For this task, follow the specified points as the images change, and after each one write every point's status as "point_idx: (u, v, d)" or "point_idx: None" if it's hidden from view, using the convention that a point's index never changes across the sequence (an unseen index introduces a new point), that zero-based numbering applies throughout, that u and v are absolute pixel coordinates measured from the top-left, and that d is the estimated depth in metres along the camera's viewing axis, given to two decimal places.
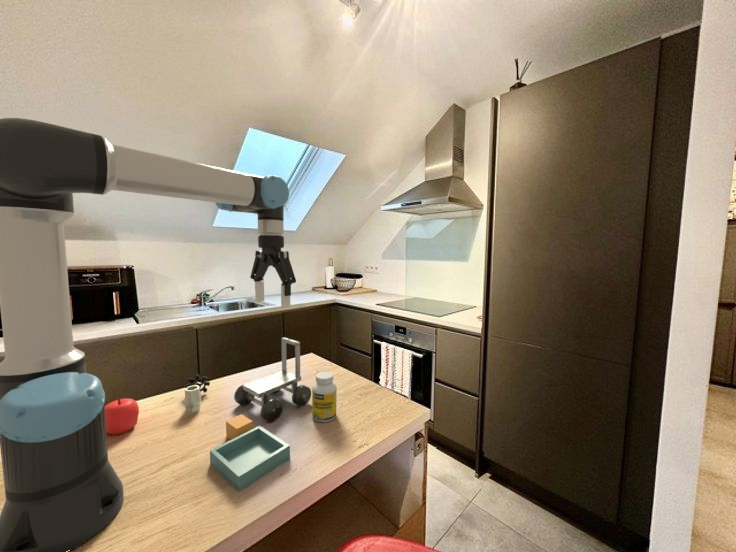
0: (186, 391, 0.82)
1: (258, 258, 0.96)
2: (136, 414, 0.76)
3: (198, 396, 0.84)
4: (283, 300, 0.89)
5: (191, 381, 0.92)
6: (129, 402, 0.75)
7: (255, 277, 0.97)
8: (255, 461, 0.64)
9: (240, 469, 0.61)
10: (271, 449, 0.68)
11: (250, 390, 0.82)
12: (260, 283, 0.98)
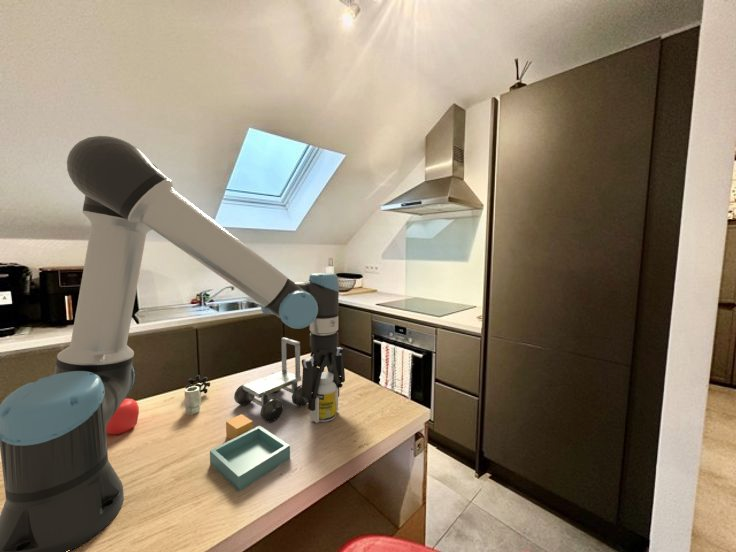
0: (186, 392, 0.82)
1: (335, 356, 0.85)
2: (136, 414, 0.76)
3: (198, 397, 0.83)
4: (310, 412, 0.80)
5: (191, 382, 0.92)
6: (129, 402, 0.75)
7: None
8: (255, 461, 0.64)
9: (240, 469, 0.61)
10: (271, 449, 0.68)
11: (250, 390, 0.82)
12: None
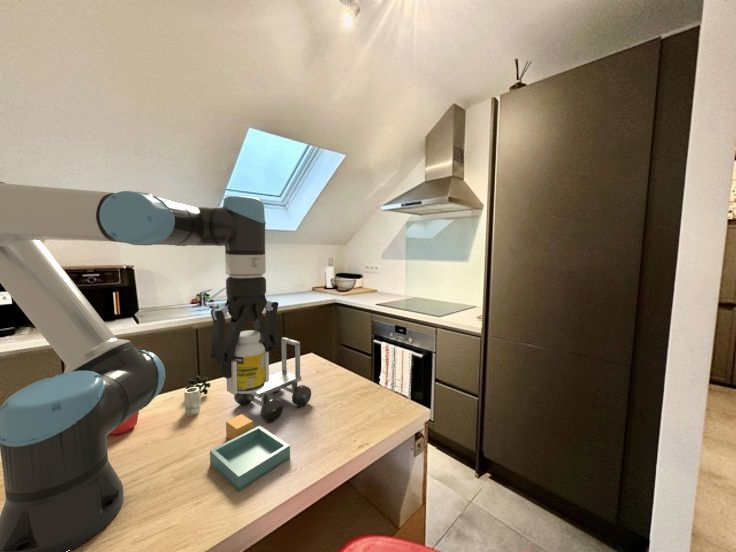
0: (185, 393, 0.81)
1: (266, 311, 0.66)
2: (136, 414, 0.76)
3: (198, 398, 0.83)
4: (227, 381, 0.61)
5: (191, 382, 0.91)
6: None
7: None
8: (255, 461, 0.64)
9: (240, 469, 0.61)
10: (271, 449, 0.68)
11: None
12: None
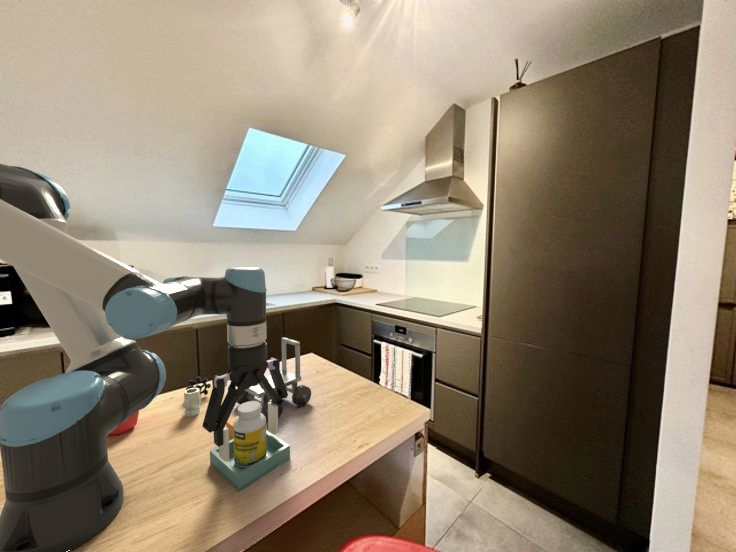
0: (185, 394, 0.81)
1: (269, 369, 0.68)
2: (136, 414, 0.76)
3: (197, 399, 0.82)
4: (219, 447, 0.60)
5: (192, 383, 0.91)
6: None
7: None
8: None
9: (240, 469, 0.61)
10: (271, 449, 0.68)
11: (250, 390, 0.82)
12: (271, 407, 0.68)
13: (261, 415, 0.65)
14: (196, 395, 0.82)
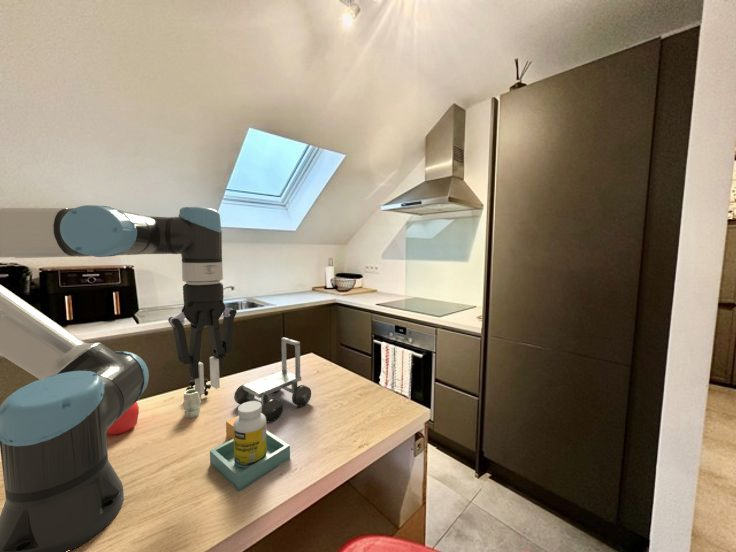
0: (185, 394, 0.81)
1: (224, 318, 0.69)
2: (136, 414, 0.76)
3: (197, 400, 0.82)
4: (195, 382, 0.65)
5: (192, 384, 0.90)
6: None
7: None
8: None
9: (240, 469, 0.61)
10: (271, 449, 0.68)
11: (250, 390, 0.82)
12: (212, 361, 0.67)
13: (261, 415, 0.65)
14: (196, 396, 0.81)
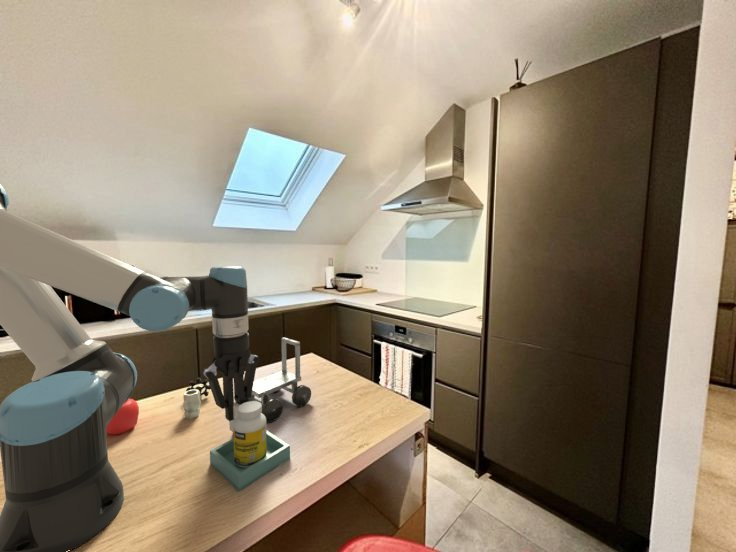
0: (185, 395, 0.80)
1: (247, 364, 0.74)
2: (136, 414, 0.76)
3: (197, 401, 0.81)
4: (229, 422, 0.72)
5: (192, 384, 0.90)
6: (129, 402, 0.75)
7: None
8: None
9: (240, 469, 0.61)
10: (271, 449, 0.68)
11: None
12: None
13: (261, 415, 0.65)
14: (196, 397, 0.81)
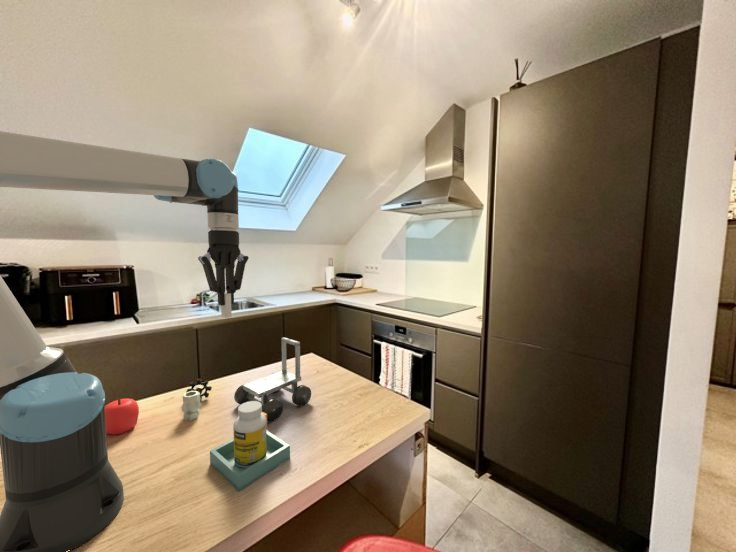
0: (184, 397, 0.79)
1: (237, 262, 0.86)
2: (136, 414, 0.76)
3: (196, 402, 0.81)
4: (221, 309, 0.84)
5: (192, 385, 0.89)
6: (129, 402, 0.75)
7: None
8: None
9: (240, 469, 0.61)
10: (271, 449, 0.68)
11: (250, 390, 0.82)
12: None
13: (261, 415, 0.65)
14: (195, 398, 0.80)
